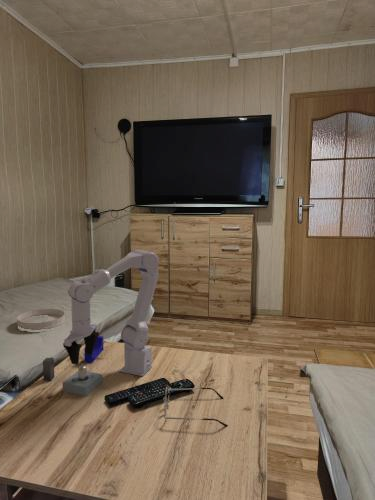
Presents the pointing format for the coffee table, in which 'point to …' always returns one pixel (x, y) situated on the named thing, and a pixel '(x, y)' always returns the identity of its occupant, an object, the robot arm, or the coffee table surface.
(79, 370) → the round bit
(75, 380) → the socket block
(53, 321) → the dish
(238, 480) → the coffee table surface
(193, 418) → the eyeglasses
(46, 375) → the square bit
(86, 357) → the blue arched block
